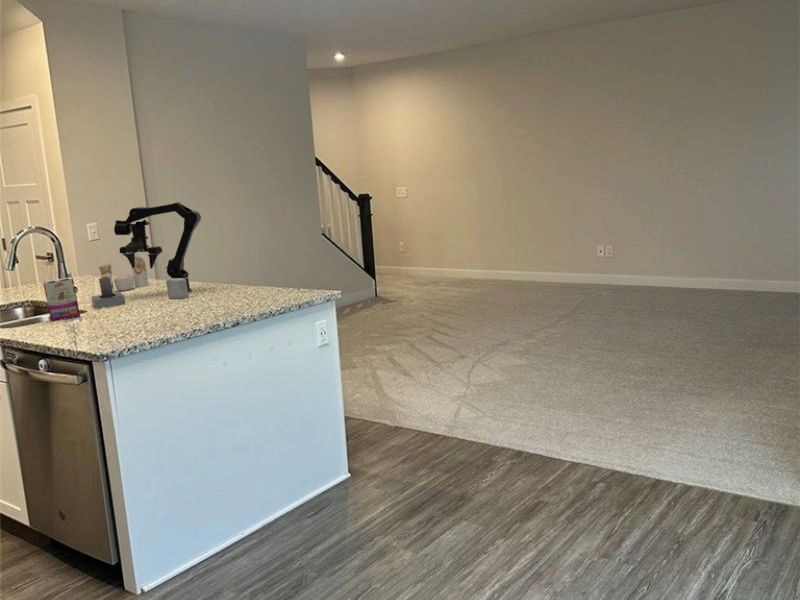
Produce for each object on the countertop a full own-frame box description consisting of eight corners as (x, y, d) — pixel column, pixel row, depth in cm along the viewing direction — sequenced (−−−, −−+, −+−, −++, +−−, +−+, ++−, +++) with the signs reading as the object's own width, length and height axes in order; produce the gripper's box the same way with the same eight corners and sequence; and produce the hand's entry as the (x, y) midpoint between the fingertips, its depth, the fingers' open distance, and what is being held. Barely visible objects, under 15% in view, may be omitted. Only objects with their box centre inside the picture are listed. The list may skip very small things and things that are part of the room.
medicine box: (189, 297, 311) (186, 278, 309) (182, 299, 307) (179, 280, 305) (175, 296, 314) (172, 278, 313) (168, 299, 310) (165, 280, 309)
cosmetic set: (109, 295, 334) (102, 257, 331) (98, 294, 340) (91, 257, 336) (153, 285, 354) (147, 249, 351) (142, 284, 360) (136, 249, 356)
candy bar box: (79, 314, 291) (72, 276, 288) (80, 316, 287) (73, 277, 284) (50, 319, 286) (42, 280, 283) (50, 321, 282) (43, 282, 279)
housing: (120, 300, 317) (119, 292, 316) (125, 304, 307) (123, 295, 306) (92, 305, 311) (91, 296, 310) (96, 309, 301) (94, 300, 300)
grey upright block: (116, 304, 309) (111, 274, 306) (106, 306, 306) (101, 276, 303) (111, 303, 312) (106, 273, 309) (101, 305, 309) (96, 275, 306)
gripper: (110, 236, 313) (114, 270, 316) (148, 237, 310) (151, 271, 313) (124, 234, 324) (128, 267, 327) (161, 234, 320) (164, 267, 323)
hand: (142, 268), depth 322 cm, fingers open, 9 cm apart
